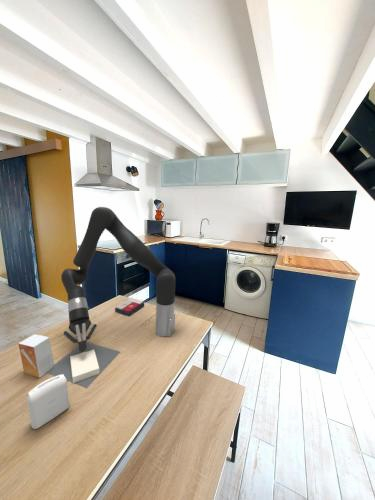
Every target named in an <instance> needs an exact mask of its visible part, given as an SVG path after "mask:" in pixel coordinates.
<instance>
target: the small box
mask: <svg viewBox="0 0 375 500" xmlns="http://www.w3.org/2000/svg"><path fill="white" fill-rule="evenodd" d="M17 345H18V349H19V353H20V354H19V355H20V358H21V363H22V368H23V373H24V374H27V375H29V376H32V377H36V378H40V379H41V377H43V376H44V375H45V374H47V373H46V372H48V371H49V370H50V369H52V368H53V367H54V364H55V362H54V357H53V350H52V344H51V341H50V336H45V335H42V334H41V335H40V334H37V333H36V334H35V333H34V334H32V335H30V336H29V337H27V338H25V339H24V340H22V341H19V342H18V344H17Z"/></svg>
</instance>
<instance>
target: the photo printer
mask: <svg viewBox="0 0 375 500" xmlns="http://www.w3.org/2000/svg"><path fill="white" fill-rule="evenodd" d="M26 399H27V408H28V414H29V420H30V426H31V428H32V429H34V430H38V429H39V428H40V427H42V426H44V425H45V424H47V423H48V422H50V421H52V420H53V419H55V418H56V417H57V416H60V414H62V413H63V412H65V411H66V410H67V409H69V407H70V399H69V389H68V381H67V380H66V378H65V376H64V374H62V375H58V376H53V377H50V378H49V379H46V380H44V381H42V382H41V383H39V384H37V385H36V386H35V387H33V388H32V389H31V390H30V391H29V392H28V393H27V398H26Z"/></svg>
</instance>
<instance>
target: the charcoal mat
mask: <svg viewBox="0 0 375 500" xmlns="http://www.w3.org/2000/svg"><path fill="white" fill-rule="evenodd" d="M86 345H87V348H86V350H85V352H87V351H90V350H94V351H95V355H96V358H97V362H98V365H99V374H97V375H94V376H92V377H89V378H86V379H83V380H81V381H78V382H75V383H73V378H72V369H71V360H70V356H74V355H77V354H80V353H84V352H81V351H79V347H78V345H77V346H76V347H75V348H74V349H72V350H71V351H70V352H68V353H67V354H66V355H65V356H63V357H62V358H61V359H59V360H58V361H57V362H56V363H54V367H53V368H52V369H50V370H49V371H48V372H46V373H45V374H48V375H50V376H53V377H55V376H58V375H62V374H64V376H65V378H66V380H67V382H69V383H71V384H75V385H77V386H79V387H83V388H85V389H88V387H89V386H90V385H91V384H93V382H94V381H95V380H96V379H97V378H98V377H99V376H100V375H101V374H102V373H103V372H104V370H106V368H108V367H109V365H110V364H111V363H112V362H113V361H114V360H115V359H116V357H118V356H119V354H120V353H121V351H119V350H116V349H113V348H110V347H106V346H102V345H99V344H95V343H93V342H89V341H86Z"/></svg>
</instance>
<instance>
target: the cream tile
mask: <svg viewBox="0 0 375 500" xmlns="http://www.w3.org/2000/svg"><path fill="white" fill-rule="evenodd" d="M70 360H71V369H72V378H73V383H72V384H74V383H75V382H78V381H81V380H83V379H86V378H89V377H92V376H94V375H97V374H99V365H98V362H97V358H96V355H95V351H94V350H90V351H87V352H84V353H80V354H77V355H74V356H70Z"/></svg>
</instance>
